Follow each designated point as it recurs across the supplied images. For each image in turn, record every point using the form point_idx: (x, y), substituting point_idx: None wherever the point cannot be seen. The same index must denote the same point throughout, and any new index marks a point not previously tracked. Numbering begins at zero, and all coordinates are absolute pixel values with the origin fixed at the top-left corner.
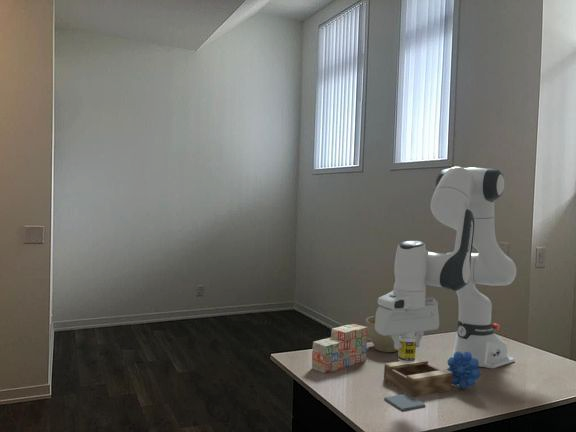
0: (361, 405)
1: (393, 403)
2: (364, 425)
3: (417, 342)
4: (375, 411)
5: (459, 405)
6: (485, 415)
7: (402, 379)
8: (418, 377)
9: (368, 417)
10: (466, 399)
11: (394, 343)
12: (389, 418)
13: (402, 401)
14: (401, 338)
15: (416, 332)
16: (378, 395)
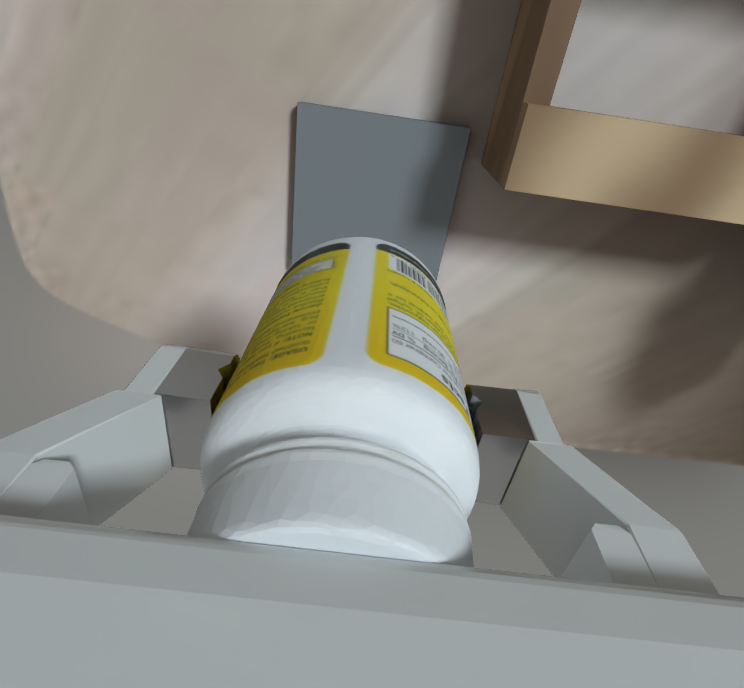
0: (120, 96)
1: (294, 195)
2: (46, 280)
3: (484, 489)
4: (162, 199)
5: (582, 347)
6: (569, 439)
7: (532, 40)
8: (566, 184)
9: (96, 232)
10: (682, 324)
11: (136, 380)
12: (190, 285)
13: (356, 204)
14: (205, 490)
15: (579, 573)
16: (307, 21)
